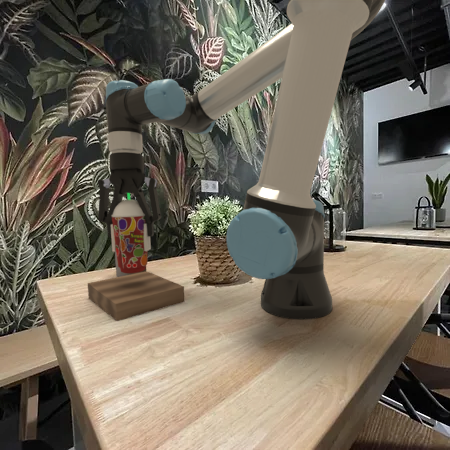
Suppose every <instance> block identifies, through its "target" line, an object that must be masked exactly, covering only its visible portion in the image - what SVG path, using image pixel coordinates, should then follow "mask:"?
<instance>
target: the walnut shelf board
mask: <svg viewBox="0 0 450 450" xmlns="http://www.w3.org/2000/svg"><path fill="white" fill-rule="evenodd" d="M87 292H88V293H87V294H88V299H89V300H90V301H91V302H92V303H94V304H95V305H96V306H97V307H99V309H101V310H102V311H104V312H105V313H106V314H107V315H108V316H110V317H111V318H112V319H113V320H115V321H116V322H118V321H123V320H125V319H130V318H133V317H137V316H139V315H143V314H147V313H150V312H154V311H157V310H161V309H165V308H167V307H172V306H174V305H179V304H182V303H185V286H184V285H181V284H179V283H176V282H174V281H172V280H170V279H166V278H164V277H161V276H159V275H156V274H155V273H152V272H150V271H148V270H146V272H141V273H136V274H131V275H126V276H121V277H117V276H115V277H111V278H106V279H102V280H95V281H91V282H87Z"/></svg>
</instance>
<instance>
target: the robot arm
mask: <svg viewBox="0 0 450 450" xmlns="http://www.w3.org/2000/svg"><path fill="white" fill-rule="evenodd" d="M385 2H386V0H288V1H287V8H286V15H287V18H288V20H290V21H289V22H291V23H290V24H289V25H287V26H286V27H285V28H284V29H282V30H281V31H279V32H278V33H276V34H275V35H274V36H272V37H271V38H270V39H268V40H267V41H266V42H264V43H262V44H261V45H260V46H258V48H255V50H254V51H252V52H250V53H249V54H248V55H247V56H244V57H243V58H242V59H241V60H240V61H238V62H237V63H235V64H234V65H232V67H230V68H229V69H228V70H226V71H225V72H223V73H221V75H219V76H218V77H216V78H215V79H214V80H213V81H211V82H210V83H208V84H207V85H205V86H204V87H202V88H201V89H200V90H199V91H197V92H196V93H194V94H193V95H192V96H190V97H189V96H187V95H185V92H184V89H183V88H182V87H181V86H180V85H179V83H178V82H177V81H176V80H174V79H172V78H165V79H160V80H159V79H157V80H154V81H151V82H149V83H146V84H143V85H141V86H138V84H136V83H135V82H132V81H129V80H124V79H119V80H112V81H109V82H108V83H107V84H106V87H105V100H104V101H105V102H104V104H105V111H106V122H107V123H106V124H107V125H106V126H107V135H108V137H107V140H108V151H109V152H110V155H108V156H109V157H108V158H109V169H110V175H109V177H108V178H105V179H98V180H97V185H98V188H99V196H98V197H99V200H98V214H97V215H98V216H97V217H98V221H99V222H102V223H104V224H106V227H107V228H106V230H107V237H108V238H111V251H112V252H113V253H115V252H116V246H115V238H114V231H113V223H112V217H111V215H112V214H113V212H114V209H115V207H116V206H117V205H118V204H119V203H120V202H122V201H123V200H122V199H123V198H124V197H125V195H127V193H130V194H133V196H134V197H135V199H136V201H137V202H138V204H139V206H140V208H141V210H142V212H143V214H145V216H144V218H145V220H146V222H145V223H146V224H144V251H150V250H152V245H151V237H154V234H155V229H154V224H155V222H156V221H159V220H161V218H162V215H161V214H162V213H161V208H160V202H159V197H158V196H159V195H158V191H157V187H158V183H159V181H158V179H157V178H153V177H151V178H150V177H147V176H146V174H145V165H144V163H145V162H144V156H143V154H142V153H143V151H144V150H143V148H144V147H143V132H142V128H143V126H144V125H149V124H154V123H158V124H162V125H165V126H169V127H173V128H176V129H179V130H182V131H186V132H189V133H191V134H194V135H195V134H196V135H197V134H199V135H205V134H208V133H209V132H211V131H212V130H213V128H214V127H215V125H216V120H217V119H219V118H221V117H222V116H224V115H225V114H227V113H228V112H230V111H232V110H233V109H235V108H236V107H238V106H239V105H241V104H243V103H245V102H246V101H248V100H249V99H251V98H253V97H255V95H257V94H259V93H260V92H262V91H263V90H265V89H267V88H268V87H270V86H272V85H273V84H274V83H276V82H277V81H279V80H281V82H280V85H279V89H278V93H277V97H276V99H277V100H276V102H275V107H274V112H273V117H272V120H271V125H270V130H269V134H268V139H267V143H266V147H265V151H264V155H263V156H264V157H263V160H262V165H261V170H260V174H259V178H258V182H257V183H256V184H255V185H254V186H252V187H250V188H249V189H247V191H246V197H245V200H244V204H243V209H242V210H241V211H240V212H238V214H236V215H235V216H234V217H233V218H232V219H231V221H230V223H229V225H228V227H227V230H226V247H227V250H228V253H229V255H230V257H231V258H232V260H233V262H234V264H235V265H236V267H237V268H239V270H240V271H242V272H243V273H244V274H246V275H248V276H249V277H252V278H255V279H259V280H264V284H263V287H262V291H261V294H260V305H261V308H262V309H263V311H265V312H267V313H269V314H271V315H275V316H277V317H281V318H285V319H290V320H312V319H319V318H322V317H326V316H327V315H329V314H330V313H331V312H332V311H333V297H332V294H331V292H330V288H329V285H328V281H327V278H326V275H325V271H324V270H325V269H324V265H325V264H324V258H325V257H324V256H325V253H324V252H325V218H326V215H325V211H324V209H325V208H324V204H323V203H322V202H321V201H320V200H317V199H313V197H312V196H311V190H312V185H313V182H314V179H315V175H316V172H317V167H318V164H319V161H320V160H319V159H320V156H321V152H322V150H323V146H324V145H323V144H324V141H325V137H326V134H327V130H328V126H329V122H330V119H331V114H332V111H333V107H334V104H335V99H336V96H337V93H338V89H339V85H340V81H341V77H342V74H343V71H344V65H345V63H346V59H347V55H348V51H349V48H350V44H351V41H352V40H353V39H354V38H355V37H357V36H358V35H359V34H361V32H363V31H364V29H366V28H367V27H368V26H369V25H370V24H371V22H373V20H374V19H375V17H376V16H377V15H378V14H379V13H380V11H381V9H382V7H383V5H384V4H385ZM145 183H146V186H147V187H148V195H149V199H150V200H149V201H150V207H151V209H150V207H149V205H148V203H147V200H146V197H145V194H144V191H143V189H142V188H143V186H144V185H145ZM111 185H112V187H114V190H113V194H112V195H113V196H112V198H111V199H112V200H111V204H109V203H110V202H109V201H110V188H111ZM109 205H110V206H109Z"/></svg>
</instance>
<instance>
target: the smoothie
mask: <svg viewBox="0 0 450 450" xmlns="http://www.w3.org/2000/svg"><path fill="white" fill-rule="evenodd" d="M126 195H127V196H126V197H127V199H124V200H122V201H121V202H120V203H119V204H118V205H117V206H116V207H115V209H114V212H113V214H112V215H111V217H112V223H113V231H114V238H115V246H116V254H117V262H118V267H119V268H120V270H121V272H123V273H137V272H141V271H143V270H145V267H146V268H147V265H148V251H149V250H148V251H144V224H146V223H145V222H146V220H145V218H144V216H145V214H143V212H142V210H141V208H140V206H139V204H138V202H137V200H135V199H131V193H127V194H126Z"/></svg>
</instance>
